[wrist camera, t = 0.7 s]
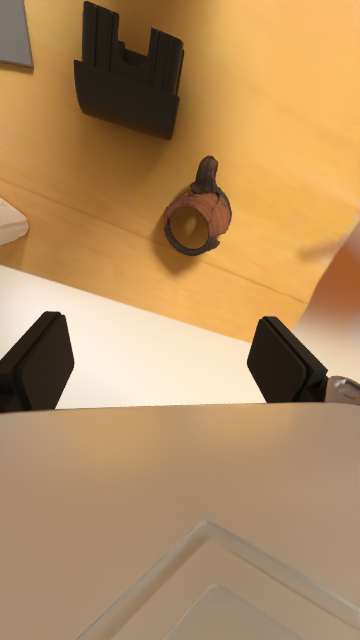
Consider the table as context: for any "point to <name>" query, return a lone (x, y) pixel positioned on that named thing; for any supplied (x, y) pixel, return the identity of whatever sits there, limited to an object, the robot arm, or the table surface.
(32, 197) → the table surface
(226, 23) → the table surface
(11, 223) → the photo printer
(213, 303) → the table surface
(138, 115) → the end cap
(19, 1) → the rubber mat
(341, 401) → the robot arm
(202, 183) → the brown piece
